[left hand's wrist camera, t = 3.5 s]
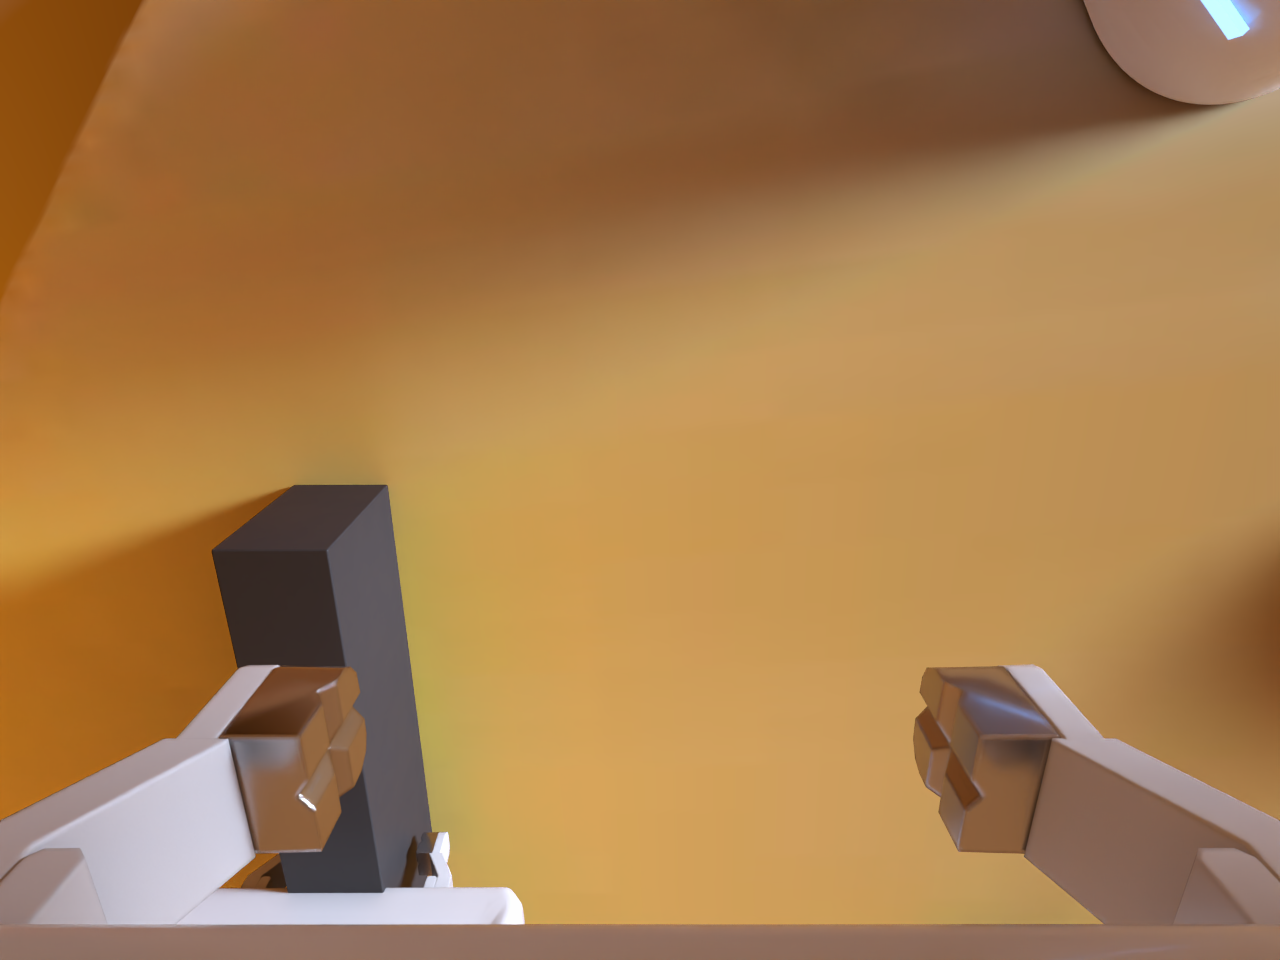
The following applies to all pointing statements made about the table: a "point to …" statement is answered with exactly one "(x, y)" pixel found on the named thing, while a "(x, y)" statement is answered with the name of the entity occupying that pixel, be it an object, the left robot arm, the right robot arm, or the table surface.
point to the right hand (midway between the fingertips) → (373, 839)
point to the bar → (338, 664)
